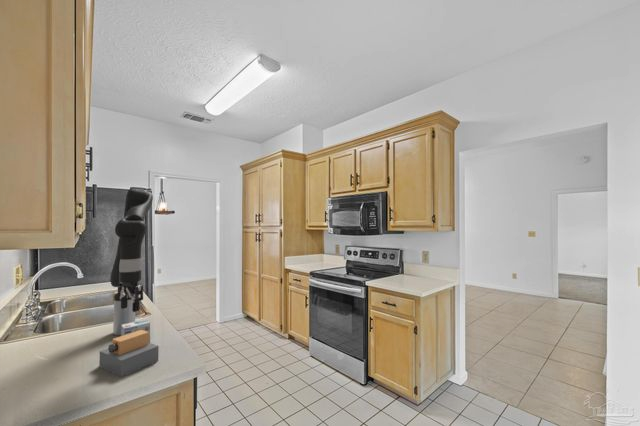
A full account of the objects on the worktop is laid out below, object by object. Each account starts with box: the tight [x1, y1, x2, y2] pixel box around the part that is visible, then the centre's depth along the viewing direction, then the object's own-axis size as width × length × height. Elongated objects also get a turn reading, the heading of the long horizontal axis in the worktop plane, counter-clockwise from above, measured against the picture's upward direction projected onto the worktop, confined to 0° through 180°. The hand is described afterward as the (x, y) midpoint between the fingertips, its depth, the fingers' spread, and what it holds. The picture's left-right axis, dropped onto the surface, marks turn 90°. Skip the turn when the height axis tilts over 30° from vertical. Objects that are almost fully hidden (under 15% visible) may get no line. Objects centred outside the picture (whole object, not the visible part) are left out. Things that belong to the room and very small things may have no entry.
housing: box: [107, 330, 149, 355], centre depth 116 cm, size 13×6×5 cm, turn 150°
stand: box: [98, 342, 160, 378], centre depth 116 cm, size 16×14×6 cm
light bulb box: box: [120, 319, 151, 343], centre depth 131 cm, size 11×7×11 cm, turn 135°
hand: (129, 309), depth 116 cm, fingers open, 8 cm apart
